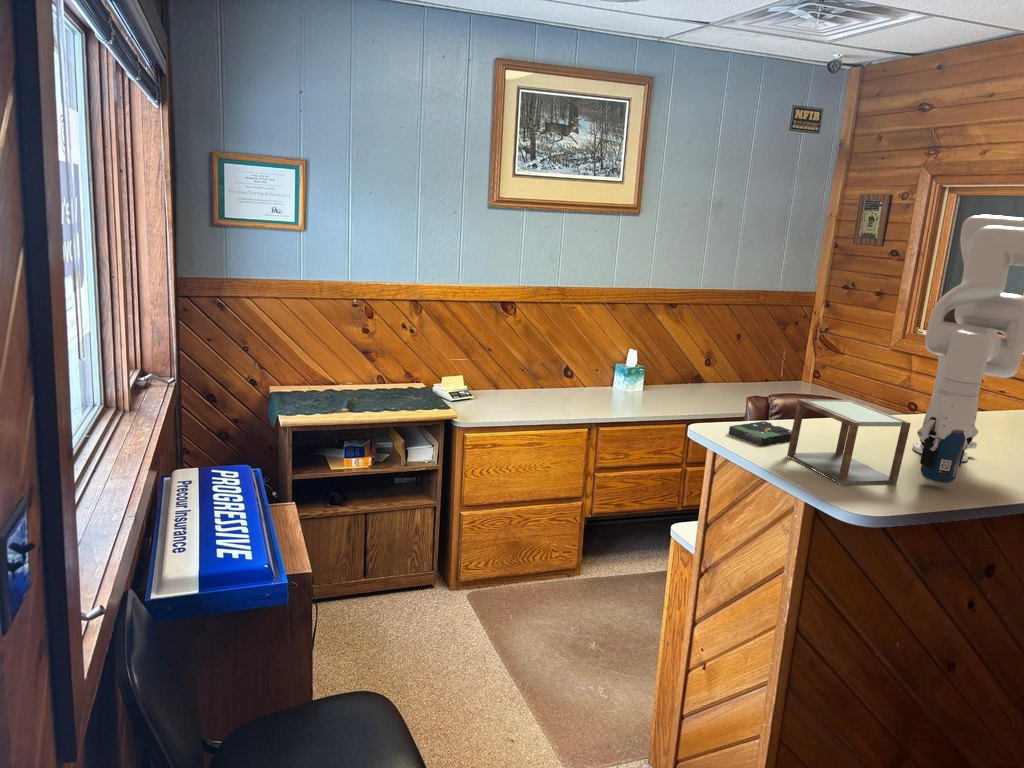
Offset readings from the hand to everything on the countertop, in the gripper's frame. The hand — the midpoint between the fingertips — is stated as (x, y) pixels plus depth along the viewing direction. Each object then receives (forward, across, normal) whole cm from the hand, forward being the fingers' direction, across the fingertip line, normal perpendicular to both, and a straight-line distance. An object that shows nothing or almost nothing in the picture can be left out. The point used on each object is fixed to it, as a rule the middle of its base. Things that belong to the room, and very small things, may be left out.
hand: (940, 464), depth 167 cm
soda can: (+4, 0, 0) cm, 4 cm away
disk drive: (+6, +21, -34) cm, 41 cm away
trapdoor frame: (+5, +16, -11) cm, 20 cm away
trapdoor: (-8, +16, -11) cm, 21 cm away
